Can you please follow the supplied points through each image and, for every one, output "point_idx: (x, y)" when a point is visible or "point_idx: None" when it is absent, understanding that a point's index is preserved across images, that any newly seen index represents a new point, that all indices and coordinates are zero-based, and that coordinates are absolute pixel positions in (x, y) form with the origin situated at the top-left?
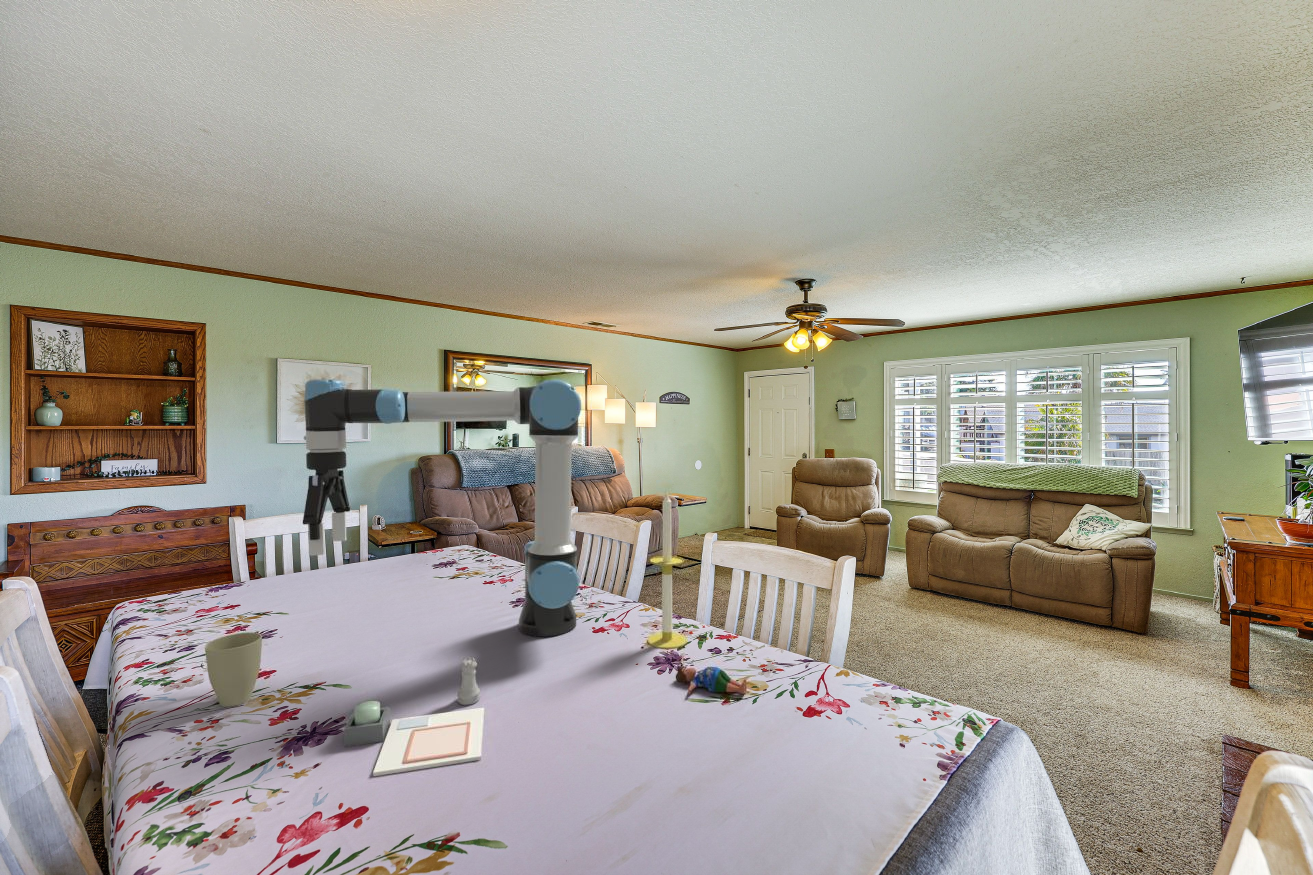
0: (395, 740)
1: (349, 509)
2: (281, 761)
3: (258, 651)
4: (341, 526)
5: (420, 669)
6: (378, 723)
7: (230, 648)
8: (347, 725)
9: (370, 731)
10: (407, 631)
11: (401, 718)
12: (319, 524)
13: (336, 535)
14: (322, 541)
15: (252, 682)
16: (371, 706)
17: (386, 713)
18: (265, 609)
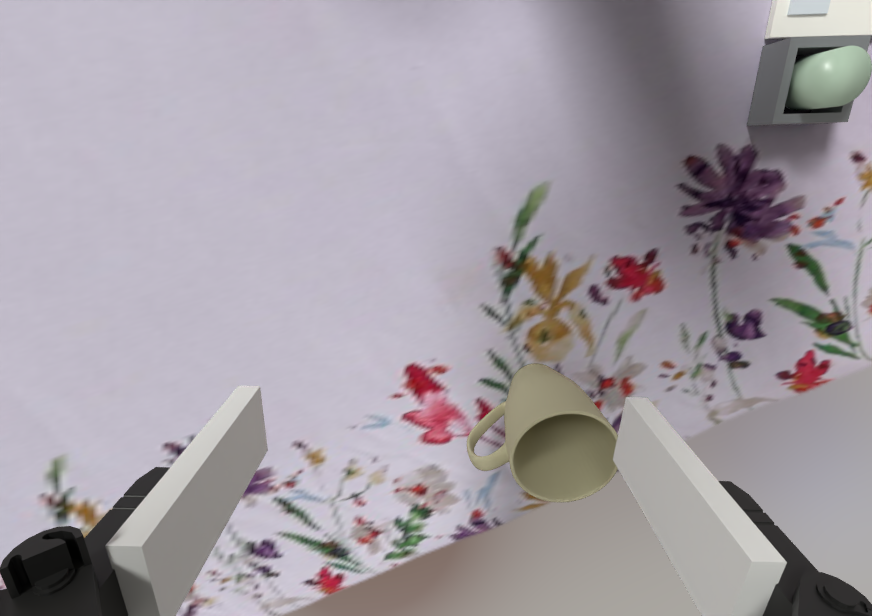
0: (869, 9)
1: (43, 544)
2: (810, 224)
3: (568, 396)
4: (216, 470)
5: (491, 21)
6: (863, 46)
7: (516, 458)
8: (834, 118)
9: None
10: (200, 117)
11: (773, 15)
12: (773, 575)
13: (251, 454)
14: (690, 451)
15: (556, 372)
16: (847, 65)
17: (822, 37)
18: (30, 512)
